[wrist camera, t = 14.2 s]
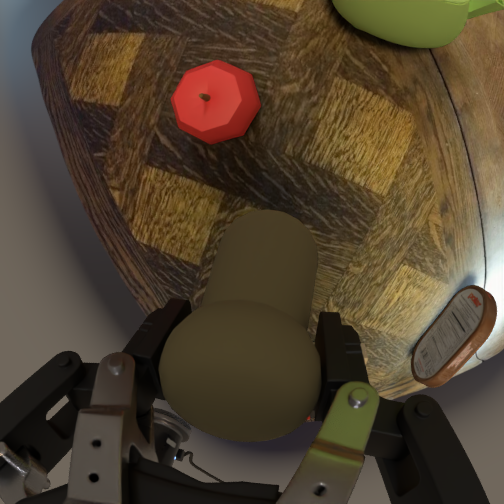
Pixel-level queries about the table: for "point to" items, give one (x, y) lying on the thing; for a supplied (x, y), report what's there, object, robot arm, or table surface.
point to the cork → (249, 335)
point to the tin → (454, 336)
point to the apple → (215, 102)
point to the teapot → (414, 18)
